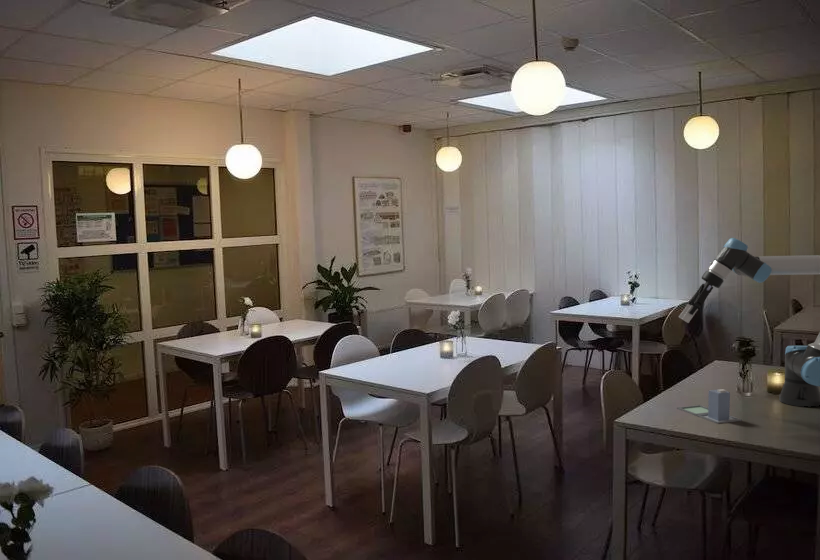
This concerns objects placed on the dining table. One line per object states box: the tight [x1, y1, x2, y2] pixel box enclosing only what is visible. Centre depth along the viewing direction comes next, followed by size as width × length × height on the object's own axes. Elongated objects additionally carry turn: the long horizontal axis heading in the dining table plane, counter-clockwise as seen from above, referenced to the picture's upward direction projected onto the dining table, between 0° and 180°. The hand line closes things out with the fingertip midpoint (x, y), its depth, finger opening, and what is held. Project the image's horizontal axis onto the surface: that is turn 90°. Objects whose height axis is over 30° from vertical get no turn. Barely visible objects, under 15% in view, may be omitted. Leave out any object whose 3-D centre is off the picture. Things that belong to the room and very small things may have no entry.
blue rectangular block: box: [707, 388, 731, 421], centre depth 250 cm, size 5×5×11 cm
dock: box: [676, 404, 742, 425], centre depth 256 cm, size 16×22×2 cm
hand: (683, 320), depth 269 cm, fingers open, 13 cm apart
